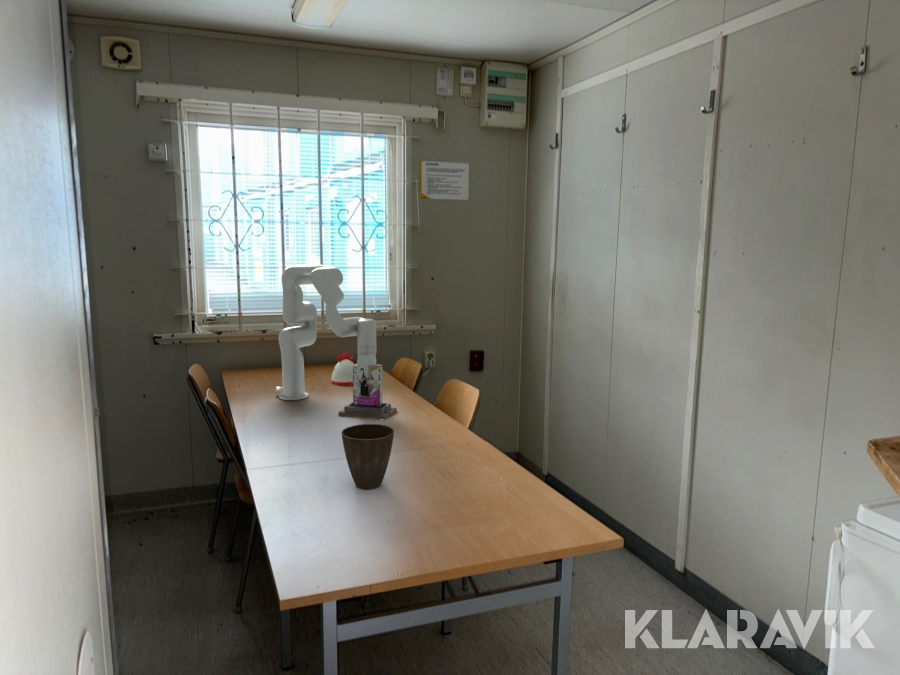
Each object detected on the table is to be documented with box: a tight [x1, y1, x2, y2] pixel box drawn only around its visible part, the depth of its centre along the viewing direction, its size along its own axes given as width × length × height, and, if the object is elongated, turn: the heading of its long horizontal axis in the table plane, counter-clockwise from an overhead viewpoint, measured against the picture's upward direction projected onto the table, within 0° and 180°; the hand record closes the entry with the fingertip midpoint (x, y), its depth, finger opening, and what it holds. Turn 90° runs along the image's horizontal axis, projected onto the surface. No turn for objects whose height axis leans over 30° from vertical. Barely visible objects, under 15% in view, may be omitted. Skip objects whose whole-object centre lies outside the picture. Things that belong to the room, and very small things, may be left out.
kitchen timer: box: [330, 352, 355, 386], centre depth 305 cm, size 14×14×15 cm
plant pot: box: [341, 423, 395, 490], centre depth 178 cm, size 15×15×16 cm
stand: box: [338, 401, 398, 421], centre depth 251 cm, size 13×20×4 cm, turn 74°
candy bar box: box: [352, 363, 383, 406], centre depth 250 cm, size 11×5×16 cm, turn 84°
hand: (367, 393), depth 250 cm, fingers closed on candy bar box, 5 cm apart
